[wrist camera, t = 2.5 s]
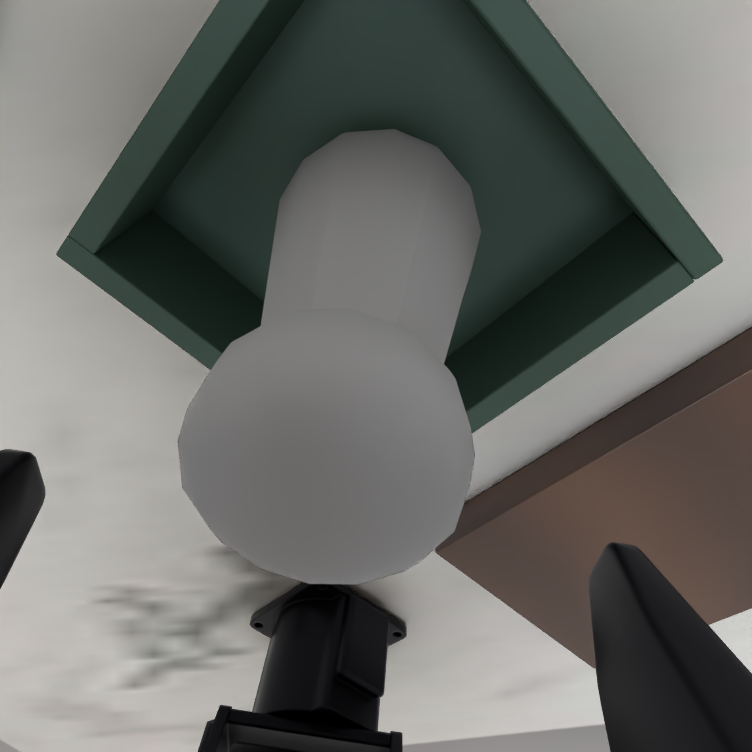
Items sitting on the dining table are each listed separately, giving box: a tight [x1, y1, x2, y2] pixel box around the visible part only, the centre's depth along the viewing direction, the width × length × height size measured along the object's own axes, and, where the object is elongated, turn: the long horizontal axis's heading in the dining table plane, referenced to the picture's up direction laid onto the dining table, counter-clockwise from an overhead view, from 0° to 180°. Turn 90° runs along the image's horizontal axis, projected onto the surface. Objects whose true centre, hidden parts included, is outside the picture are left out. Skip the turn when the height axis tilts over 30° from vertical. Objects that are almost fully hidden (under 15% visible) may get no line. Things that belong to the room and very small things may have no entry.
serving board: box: [435, 328, 752, 668], centre depth 23 cm, size 20×12×2 cm, turn 136°
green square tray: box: [56, 0, 723, 433], centre depth 17 cm, size 13×13×4 cm
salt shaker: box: [178, 129, 481, 584], centre depth 13 cm, size 6×6×13 cm
